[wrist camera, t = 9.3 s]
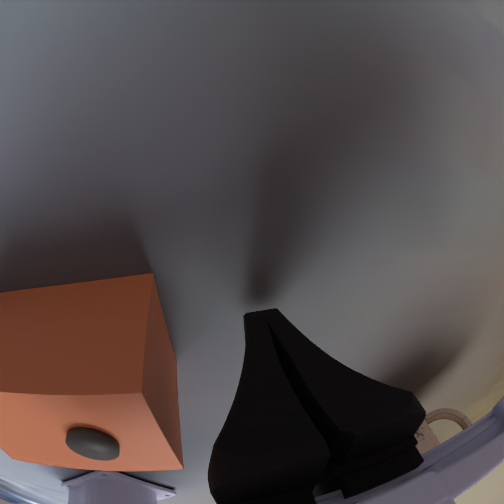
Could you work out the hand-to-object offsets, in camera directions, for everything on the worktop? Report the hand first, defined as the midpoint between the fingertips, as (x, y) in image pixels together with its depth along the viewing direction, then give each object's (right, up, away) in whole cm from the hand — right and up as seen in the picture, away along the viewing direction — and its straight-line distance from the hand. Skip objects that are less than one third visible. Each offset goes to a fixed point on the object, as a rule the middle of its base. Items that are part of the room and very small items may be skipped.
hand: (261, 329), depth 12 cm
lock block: (-8, 0, 0) cm, 8 cm away
